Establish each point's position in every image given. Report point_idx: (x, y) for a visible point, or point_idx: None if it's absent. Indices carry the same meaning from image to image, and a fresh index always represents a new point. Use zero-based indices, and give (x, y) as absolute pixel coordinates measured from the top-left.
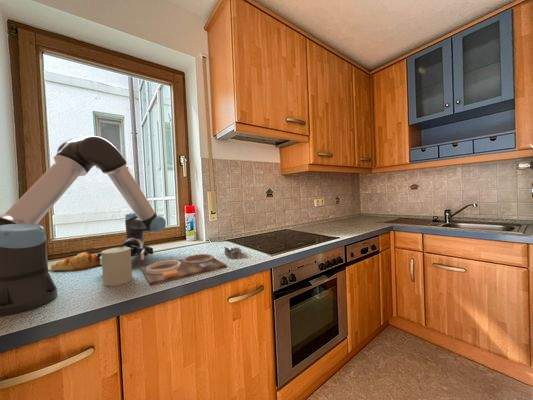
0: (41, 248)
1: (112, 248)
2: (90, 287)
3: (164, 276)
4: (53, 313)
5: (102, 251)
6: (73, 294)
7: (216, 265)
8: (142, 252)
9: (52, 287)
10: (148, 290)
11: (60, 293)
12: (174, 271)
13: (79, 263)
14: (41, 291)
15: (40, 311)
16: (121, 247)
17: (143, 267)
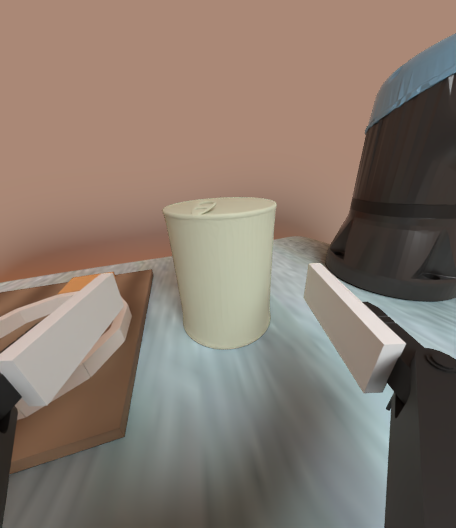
0: (366, 142)
1: (248, 210)
2: (290, 297)
3: (113, 274)
4: (281, 247)
5: (271, 201)
6: (304, 278)
7: None
8: (97, 278)
9: (344, 253)
10: (162, 263)
11: (347, 288)
12: (74, 283)
13: None
14: (334, 238)
15: (307, 251)
16: (200, 202)
17: (106, 414)
